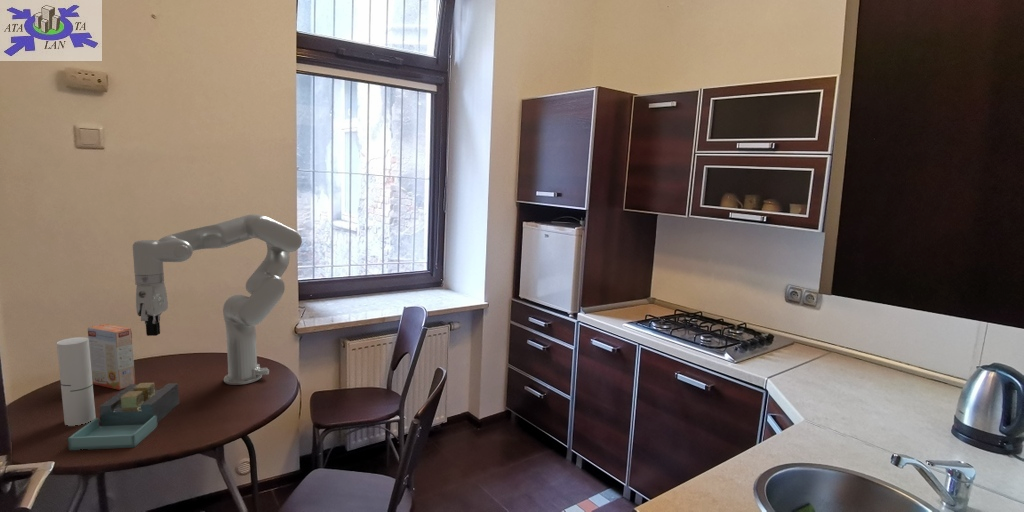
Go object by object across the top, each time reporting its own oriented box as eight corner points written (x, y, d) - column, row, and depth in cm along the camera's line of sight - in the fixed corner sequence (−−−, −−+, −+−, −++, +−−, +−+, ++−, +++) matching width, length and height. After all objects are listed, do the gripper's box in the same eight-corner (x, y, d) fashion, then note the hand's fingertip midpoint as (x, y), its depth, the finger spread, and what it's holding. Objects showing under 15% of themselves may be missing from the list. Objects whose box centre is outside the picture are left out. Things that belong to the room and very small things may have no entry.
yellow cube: (144, 403, 155) (143, 391, 155) (136, 409, 151) (135, 396, 151) (129, 403, 154) (128, 391, 154) (121, 409, 151) (120, 396, 150)
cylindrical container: (76, 415, 157) (69, 337, 153) (101, 415, 157) (94, 337, 154) (58, 426, 150) (50, 344, 146) (84, 426, 150) (76, 344, 147)
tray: (157, 426, 151) (156, 415, 151) (134, 447, 140) (133, 435, 139) (97, 428, 149) (96, 417, 148) (69, 450, 137) (67, 438, 137)
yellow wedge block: (155, 394, 162) (154, 382, 161) (148, 399, 158) (147, 387, 157) (141, 394, 161) (140, 382, 160) (134, 400, 157) (133, 388, 156)
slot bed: (179, 403, 167) (178, 383, 166) (153, 426, 151) (152, 404, 150) (132, 404, 165) (130, 384, 164) (101, 428, 149) (99, 406, 148)
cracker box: (136, 384, 180) (132, 327, 177) (118, 390, 175) (114, 332, 172) (109, 378, 185) (104, 322, 182) (91, 384, 179) (86, 327, 176)
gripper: (150, 284, 154) (153, 342, 157) (174, 274, 169) (177, 328, 172) (122, 283, 153) (127, 342, 156) (149, 274, 168) (153, 328, 171)
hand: (153, 334), depth 164 cm, fingers closed
